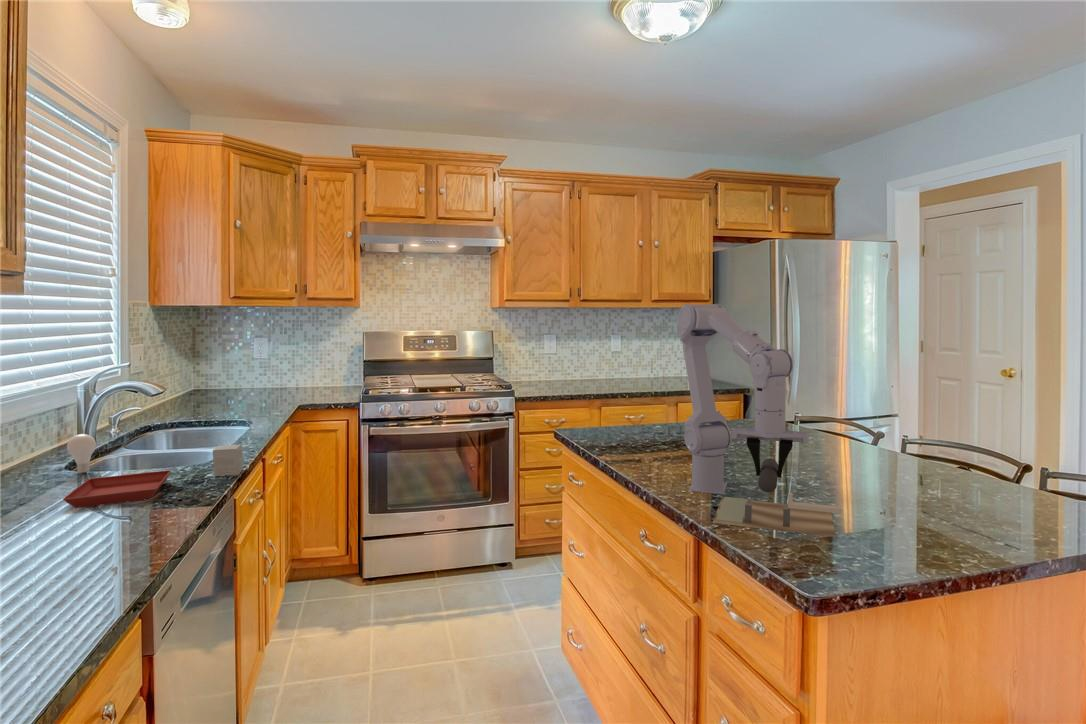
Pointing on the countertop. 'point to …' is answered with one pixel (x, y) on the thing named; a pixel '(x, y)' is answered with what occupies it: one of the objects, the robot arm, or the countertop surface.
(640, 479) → the countertop surface
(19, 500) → the countertop surface
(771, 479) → the dark grey rod
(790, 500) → the beige l-shaped block
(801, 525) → the board
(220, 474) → the product box
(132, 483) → the plant saucer
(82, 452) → the lightbulb
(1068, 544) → the countertop surface
